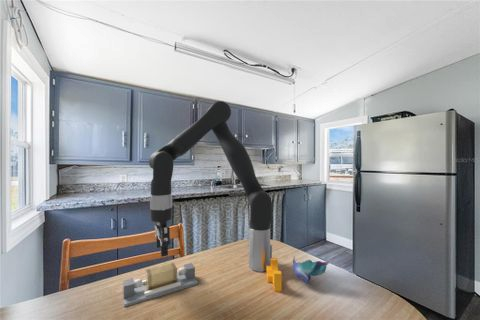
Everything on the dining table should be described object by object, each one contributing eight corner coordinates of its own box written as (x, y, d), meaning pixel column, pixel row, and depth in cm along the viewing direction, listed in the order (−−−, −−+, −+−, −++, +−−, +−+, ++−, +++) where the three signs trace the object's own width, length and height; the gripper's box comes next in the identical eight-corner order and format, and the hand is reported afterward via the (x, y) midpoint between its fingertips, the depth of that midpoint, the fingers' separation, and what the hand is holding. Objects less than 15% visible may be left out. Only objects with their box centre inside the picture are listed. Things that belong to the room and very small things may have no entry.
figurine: (332, 284, 78) (332, 260, 78) (315, 297, 71) (315, 270, 71) (302, 270, 88) (302, 249, 88) (284, 280, 81) (284, 257, 81)
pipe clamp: (266, 273, 86) (266, 257, 86) (277, 273, 86) (277, 258, 86) (269, 291, 74) (269, 273, 74) (281, 292, 74) (281, 273, 74)
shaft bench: (189, 271, 86) (189, 259, 86) (197, 284, 78) (197, 270, 78) (122, 290, 74) (123, 276, 74) (124, 307, 65) (124, 291, 65)
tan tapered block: (147, 292, 71) (147, 275, 71) (145, 285, 75) (145, 269, 75) (176, 283, 77) (177, 268, 77) (173, 277, 80) (174, 262, 80)
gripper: (147, 204, 80) (147, 246, 80) (153, 212, 68) (154, 262, 67) (167, 202, 84) (168, 242, 84) (177, 209, 71) (177, 256, 71)
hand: (161, 251), depth 76 cm, fingers open, 8 cm apart
